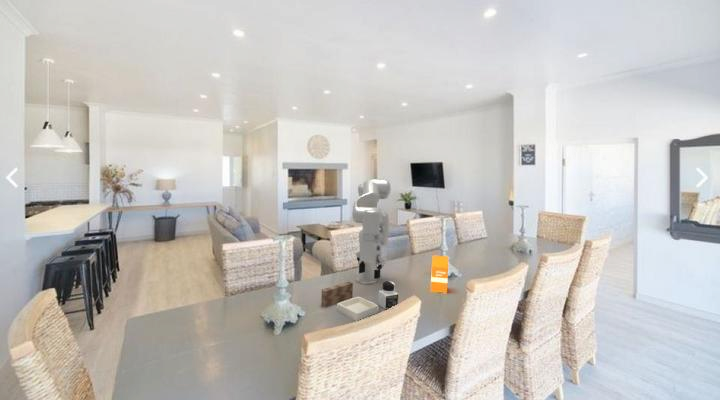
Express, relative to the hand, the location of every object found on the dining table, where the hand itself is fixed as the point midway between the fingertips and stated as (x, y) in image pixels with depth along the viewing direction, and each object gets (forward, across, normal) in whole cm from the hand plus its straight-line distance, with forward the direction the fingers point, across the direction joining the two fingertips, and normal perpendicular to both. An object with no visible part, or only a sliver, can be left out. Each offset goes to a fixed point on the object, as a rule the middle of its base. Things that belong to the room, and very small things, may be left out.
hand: (369, 275), depth 144 cm
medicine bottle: (+20, +4, -18) cm, 27 cm away
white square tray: (+20, +9, -2) cm, 22 cm away
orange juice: (+20, 0, -56) cm, 60 cm away
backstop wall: (+20, +24, -1) cm, 31 cm away
